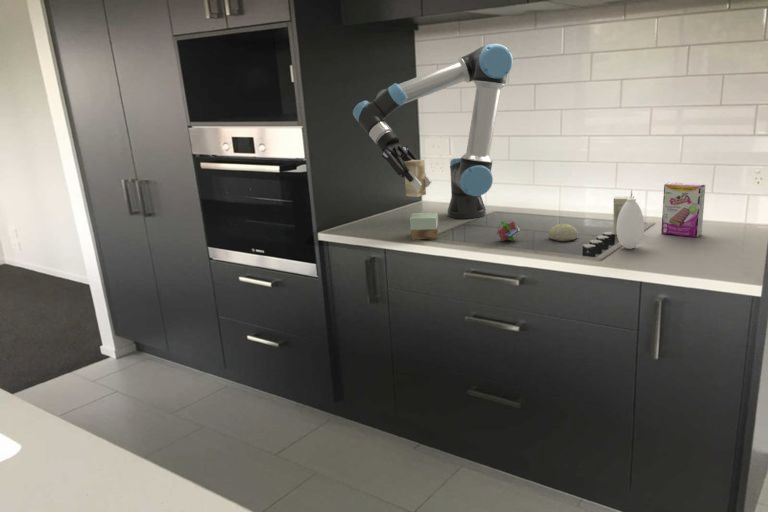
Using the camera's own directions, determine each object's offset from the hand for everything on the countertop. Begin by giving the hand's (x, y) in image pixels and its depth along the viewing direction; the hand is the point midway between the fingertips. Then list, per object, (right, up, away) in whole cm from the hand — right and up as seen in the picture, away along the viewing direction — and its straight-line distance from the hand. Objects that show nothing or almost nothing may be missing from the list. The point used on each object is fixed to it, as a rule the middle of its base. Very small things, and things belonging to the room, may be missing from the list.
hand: (424, 185), depth 217 cm
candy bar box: (+82, -18, -15) cm, 85 cm away
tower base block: (+1, -18, +5) cm, 19 cm away
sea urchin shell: (+45, -19, -10) cm, 50 cm away
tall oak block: (-3, -3, +3) cm, 5 cm away
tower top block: (0, -14, +4) cm, 15 cm away
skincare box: (+65, -17, -9) cm, 68 cm away
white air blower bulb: (+61, -22, -26) cm, 70 cm away
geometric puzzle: (+27, -19, -8) cm, 35 cm away
